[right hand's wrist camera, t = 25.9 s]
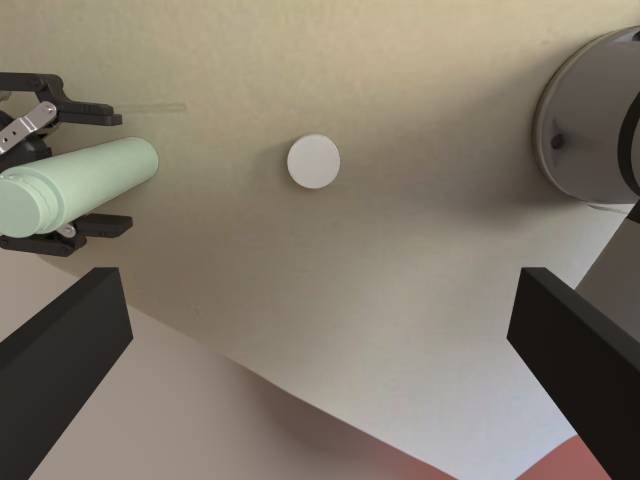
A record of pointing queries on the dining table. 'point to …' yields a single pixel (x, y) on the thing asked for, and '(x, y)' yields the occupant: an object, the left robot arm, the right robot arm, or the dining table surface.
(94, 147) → the pale green cylinder
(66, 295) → the right robot arm
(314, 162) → the lid
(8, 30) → the dining table surface
